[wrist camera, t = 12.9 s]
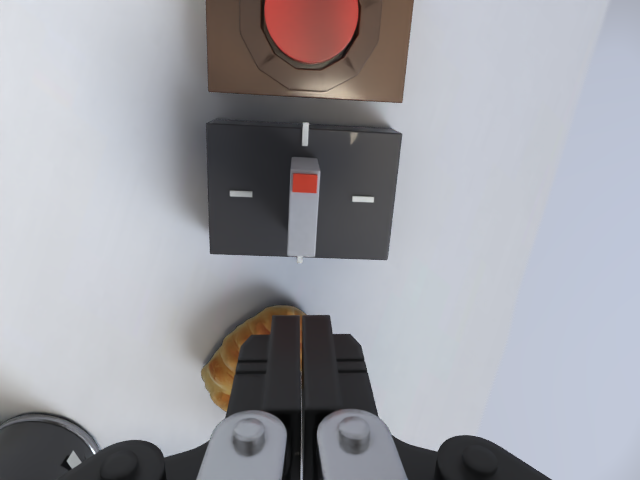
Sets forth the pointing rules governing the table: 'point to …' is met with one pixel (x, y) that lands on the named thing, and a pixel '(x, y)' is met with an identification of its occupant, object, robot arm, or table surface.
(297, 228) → the grey block red tab
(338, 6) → the button
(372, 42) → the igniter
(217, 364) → the pastry
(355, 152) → the panel
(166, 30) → the table surface
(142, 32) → the table surface
